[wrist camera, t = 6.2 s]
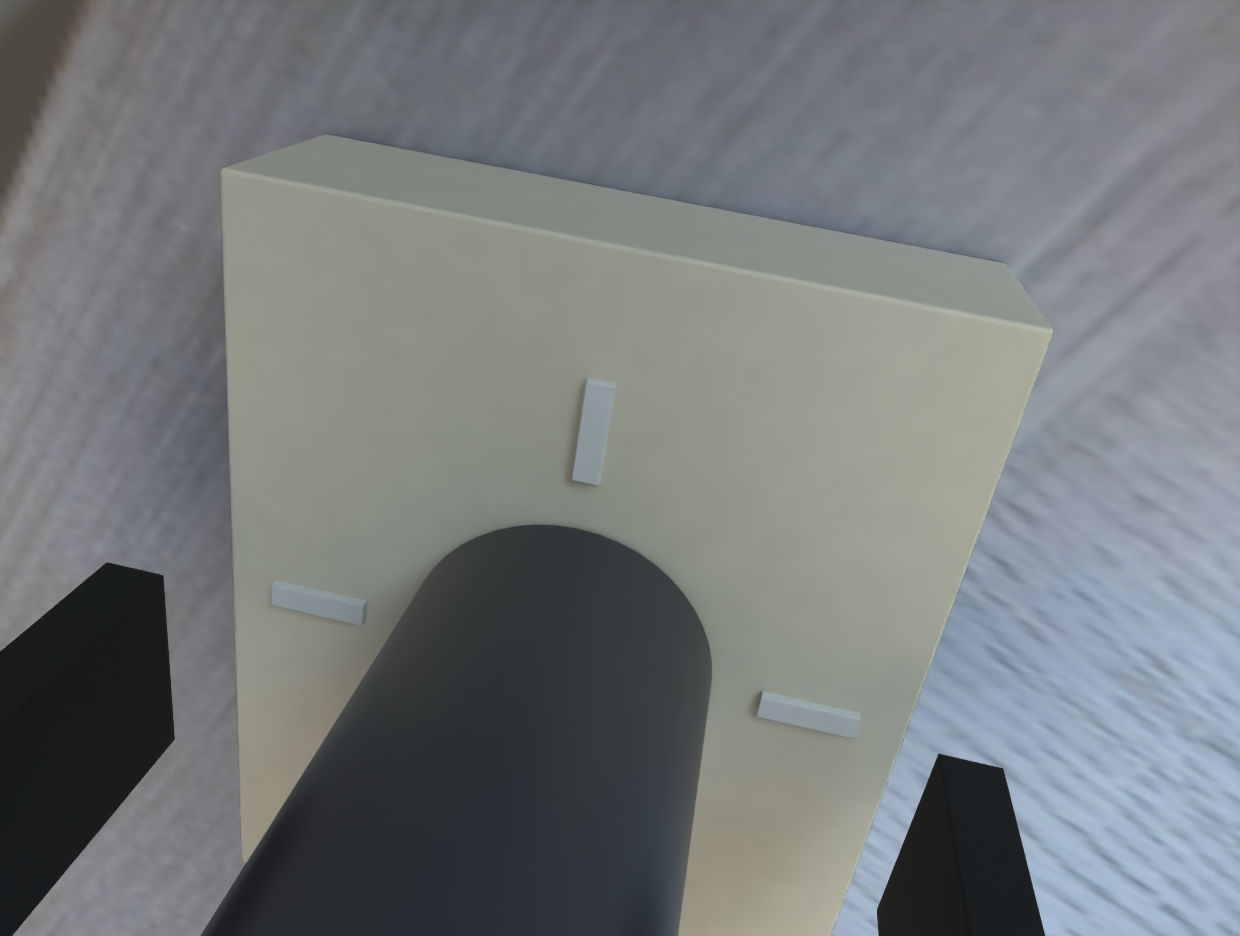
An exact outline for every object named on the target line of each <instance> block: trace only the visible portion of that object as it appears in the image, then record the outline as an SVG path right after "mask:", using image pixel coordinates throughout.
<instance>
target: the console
mask: <svg viewBox="0 0 1240 936" xmlns="http://www.w3.org/2000/svg"><path fill="white" fill-rule="evenodd" d="M220 180H221V211H222V243H223V274H224V306H225V337H226V368H227V400H228V431H229V463H230V494H231V526H232V557H233V588H234V620H235V651H236V683H237V714H238V746H239V777H240V808H241V840H242V860H243V861H244V862H247V861H248V860H249V858H250V856H251V855H252V853H253V852H254V850H255V848H256V847H257V845H258V844H259V842H260V840H261V839H262V837H263V836H264V834H265V833H266V831H267V829H268V828H269V826H270V825H271V823H272V821H273V820H274V818H275V817H276V815H277V814H278V812H279V810H280V809H281V807H282V806H283V804H284V802H285V801H286V799H287V798H288V796H289V795H290V793H291V791H292V790H293V788H294V787H295V785H296V783H297V782H298V780H299V779H300V777H301V775H302V774H303V772H304V771H305V769H306V768H307V766H308V764H309V763H310V761H311V760H312V758H313V756H314V755H315V753H316V752H317V750H318V749H319V747H320V745H321V744H322V742H323V741H324V739H325V737H326V736H327V734H328V733H329V731H330V730H331V728H332V726H333V725H334V723H335V722H336V720H337V718H338V717H339V715H340V714H341V712H342V710H343V709H344V707H345V706H346V704H347V703H348V701H349V699H350V698H351V696H352V695H353V693H354V691H355V690H356V688H357V687H358V685H359V684H360V682H361V680H362V679H363V677H364V676H365V674H366V672H367V671H368V669H369V668H370V666H371V665H372V663H373V661H374V660H375V658H376V657H377V655H378V653H379V652H380V650H381V649H382V647H383V645H384V644H385V642H386V641H387V639H388V638H389V636H390V634H391V633H392V631H393V630H394V628H395V626H396V625H397V623H398V622H399V620H400V619H401V617H402V615H403V614H404V612H405V611H406V609H407V607H408V606H409V604H410V603H411V601H412V600H413V598H414V596H415V595H416V593H417V592H418V590H419V588H420V587H421V585H422V584H423V582H424V581H425V579H426V578H427V577H428V575H429V574H430V572H431V571H432V570H433V568H434V567H435V566H436V565H437V564H438V563H439V562H440V561H441V560H442V559H443V558H444V557H445V556H447V555H448V554H449V553H451V552H452V551H454V550H455V549H456V548H458V547H459V546H460V545H462V544H464V543H466V542H468V541H470V540H472V539H474V538H476V537H478V536H481V535H484V534H487V533H490V532H493V531H496V530H500V529H504V528H509V527H514V526H523V525H535V524H539V525H559V526H566V527H572V528H578V529H582V530H586V531H589V532H593V533H596V534H600V535H602V536H605V537H607V538H610V539H612V540H615V541H617V542H619V543H621V544H623V545H625V546H627V547H629V548H631V549H632V550H634V551H636V552H638V553H639V554H641V555H642V556H644V557H645V558H646V559H648V560H649V561H651V562H652V563H654V564H655V565H656V566H657V567H658V568H659V569H661V570H662V571H663V572H664V573H665V574H666V575H667V576H669V577H670V578H671V580H672V581H673V582H674V583H675V584H676V585H677V586H678V587H679V589H680V590H681V591H682V592H683V593H684V595H685V596H686V598H687V599H688V601H689V602H690V604H691V605H692V607H693V608H694V610H695V611H696V613H697V615H698V617H699V619H700V621H701V623H702V625H703V628H704V631H705V634H706V637H707V640H708V643H709V647H710V653H711V659H712V683H711V691H710V698H709V706H708V714H707V721H706V729H705V736H704V744H703V751H702V759H701V766H700V774H699V782H698V789H697V797H696V804H695V812H694V819H693V827H692V834H691V842H690V849H689V857H688V865H687V872H686V880H685V887H684V895H683V902H682V910H681V917H680V925H679V933H678V936H831V934H832V931H833V929H834V926H835V923H836V920H837V918H838V915H839V912H840V910H841V907H842V904H843V901H844V899H845V896H846V893H847V891H848V888H849V885H850V882H851V880H852V877H853V874H854V872H855V869H856V866H857V864H858V861H859V858H860V855H861V853H862V850H863V847H864V845H865V842H866V839H867V836H868V834H869V831H870V828H871V826H872V823H873V820H874V818H875V815H876V812H877V809H878V807H879V804H880V801H881V799H882V796H883V793H884V790H885V788H886V785H887V782H888V780H889V777H890V774H891V771H892V769H893V766H894V763H895V761H896V758H897V755H898V753H899V750H900V747H901V744H902V742H903V739H904V736H905V734H906V731H907V728H908V725H909V723H910V720H911V717H912V715H913V712H914V709H915V707H916V704H917V701H918V698H919V696H920V693H921V690H922V688H923V685H924V682H925V679H926V677H927V674H928V671H929V669H930V666H931V663H932V660H933V658H934V655H935V652H936V650H937V647H938V644H939V642H940V639H941V636H942V633H943V631H944V628H945V625H946V623H947V620H948V617H949V614H950V612H951V609H952V606H953V604H954V601H955V598H956V596H957V593H958V590H959V587H960V585H961V582H962V579H963V577H964V574H965V571H966V568H967V566H968V563H969V560H970V558H971V555H972V552H973V550H974V547H975V544H976V541H977V539H978V536H979V533H980V531H981V528H982V525H983V522H984V520H985V517H986V514H987V512H988V509H989V506H990V503H991V501H992V498H993V495H994V493H995V490H996V487H997V485H998V482H999V479H1000V476H1001V474H1002V471H1003V468H1004V466H1005V463H1006V460H1007V457H1008V455H1009V452H1010V449H1011V447H1012V444H1013V441H1014V439H1015V436H1016V433H1017V430H1018V428H1019V425H1020V422H1021V420H1022V417H1023V414H1024V411H1025V409H1026V406H1027V403H1028V401H1029V398H1030V395H1031V392H1032V390H1033V387H1034V384H1035V382H1036V379H1037V376H1038V374H1039V371H1040V368H1041V365H1042V363H1043V360H1044V357H1045V355H1046V352H1047V349H1048V346H1049V344H1050V341H1051V338H1052V336H1053V329H1052V328H1051V326H1050V325H1049V324H1048V322H1047V321H1046V319H1045V318H1044V316H1043V315H1042V314H1041V312H1040V311H1039V309H1038V308H1037V306H1036V305H1035V304H1034V302H1033V301H1032V299H1031V298H1030V297H1029V295H1028V294H1027V292H1026V291H1025V289H1024V288H1023V287H1022V285H1021V284H1020V282H1019V281H1018V279H1017V278H1016V277H1015V275H1014V274H1013V272H1012V271H1011V269H1010V268H1009V267H1008V265H1006V264H1005V263H1001V262H996V261H990V260H985V259H980V258H974V257H969V256H964V255H959V254H953V253H948V252H943V251H938V250H932V249H927V248H922V247H917V246H911V245H906V244H901V243H896V242H890V241H885V240H880V239H875V238H869V237H864V236H859V235H854V234H848V233H843V232H838V231H832V230H827V229H822V228H817V227H811V226H806V225H801V224H796V223H790V222H785V221H780V220H775V219H769V218H764V217H759V216H754V215H748V214H743V213H738V212H733V211H727V210H722V209H717V208H712V207H706V206H701V205H696V204H690V203H685V202H680V201H675V200H669V199H664V198H659V197H654V196H648V195H643V194H638V193H633V192H627V191H622V190H617V189H612V188H606V187H601V186H596V185H591V184H585V183H580V182H575V181H570V180H564V179H559V178H554V177H548V176H543V175H538V174H533V173H527V172H522V171H517V170H512V169H506V168H501V167H496V166H491V165H485V164H480V163H475V162H470V161H464V160H459V159H454V158H449V157H443V156H438V155H433V154H428V153H422V152H417V151H412V150H406V149H401V148H396V147H391V146H385V145H380V144H375V143H370V142H364V141H359V140H354V139H349V138H343V137H338V136H333V135H328V134H325V135H322V136H318V137H315V138H312V139H309V140H306V141H303V142H300V143H297V144H294V145H291V146H288V147H285V148H282V149H279V150H276V151H273V152H270V153H267V154H264V155H260V156H257V157H254V158H251V159H248V160H245V161H242V162H239V163H236V164H233V165H230V166H227V167H224V168H222V169H221V172H220Z"/></svg>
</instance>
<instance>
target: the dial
mask: <svg viewBox="0 0 1240 936" xmlns="http://www.w3.org/2000/svg"><path fill="white" fill-rule="evenodd" d="M711 683H712V659H711V653H710V647H709V643H708V640H707V637H706V634H705V631H704V628H703V625H702V623H701V621H700V619H699V617H698V615H697V613H696V611H695V610H694V608H693V607H692V605H691V604H690V602H689V601H688V599H687V598H686V596H685V595H684V593H683V592H682V591H681V590H680V589H679V587H678V586H677V585H676V584H675V583H674V582H673V581H672V580H671V578H670V577H669V576H667V575H666V574H665V573H664V572H663V571H662V570H661V569H659V568H658V567H657V566H656V565H655V564H654V563H652V562H651V561H649V560H648V559H646V558H645V557H644V556H642V555H641V554H639V553H638V552H636V551H634V550H632V549H631V548H629V547H627V546H625V545H623V544H621V543H619V542H617V541H615V540H612V539H610V538H607V537H605V536H602V535H600V534H596V533H593V532H589V531H586V530H582V529H578V528H572V527H566V526H559V525H539V524H535V525H523V526H514V527H509V528H504V529H500V530H496V531H493V532H490V533H487V534H484V535H481V536H478V537H476V538H474V539H472V540H470V541H468V542H466V543H464V544H462V545H460V546H459V547H458V548H456V549H455V550H454V551H452V552H451V553H449V554H448V555H447V556H445V557H444V558H443V559H442V560H441V561H440V562H439V563H438V564H437V565H436V566H435V567H434V568H433V570H432V571H431V572H430V574H429V575H428V577H427V578H426V579H425V581H424V582H423V584H422V585H421V587H420V588H419V590H418V592H417V593H416V595H415V596H414V598H413V600H412V601H411V603H410V604H409V606H408V607H407V609H406V611H405V612H404V614H403V615H402V617H401V619H400V620H399V622H398V623H397V625H396V626H395V628H394V630H393V631H392V633H391V634H390V636H389V638H388V639H387V641H386V642H385V644H384V645H383V647H382V649H381V650H380V652H379V653H378V655H377V657H376V658H375V660H374V661H373V663H372V665H371V666H370V668H369V669H368V671H367V672H366V674H365V676H364V677H363V679H362V680H361V682H360V684H359V685H358V687H357V688H356V690H355V691H354V693H353V695H352V696H351V698H350V699H349V701H348V703H347V704H346V706H345V707H344V709H343V710H342V712H341V714H340V715H339V717H338V718H337V720H336V722H335V723H334V725H333V726H332V728H331V730H330V731H329V733H328V734H327V736H326V737H325V739H324V741H323V742H322V744H321V745H320V747H319V749H318V750H317V752H316V753H315V755H314V756H313V758H312V760H311V761H310V763H309V764H308V766H307V768H306V769H305V771H304V772H303V774H302V775H301V777H300V779H299V780H298V782H297V783H296V785H295V787H294V788H293V790H292V791H291V793H290V795H289V796H288V798H287V799H286V801H285V802H284V804H283V806H282V807H281V809H280V810H279V812H278V814H277V815H276V817H275V818H274V820H273V821H272V823H271V825H270V826H269V828H268V829H267V831H266V833H265V834H264V836H263V837H262V839H261V840H260V842H259V844H258V845H257V847H256V848H255V850H254V852H253V853H252V855H251V856H250V858H249V860H248V861H247V863H246V864H245V866H244V867H243V869H242V871H241V872H240V874H239V875H238V877H237V879H236V880H235V882H234V883H233V885H232V886H231V888H230V890H229V891H228V893H227V894H226V896H225V898H224V899H223V901H222V902H221V904H220V906H219V907H218V909H217V910H216V912H215V913H214V915H213V917H212V918H211V920H210V921H209V923H208V925H207V926H206V928H205V929H204V931H203V932H202V934H201V936H678V933H679V925H680V917H681V910H682V902H683V895H684V887H685V880H686V872H687V865H688V857H689V849H690V842H691V834H692V827H693V819H694V812H695V804H696V797H697V789H698V782H699V774H700V766H701V759H702V751H703V744H704V736H705V729H706V721H707V714H708V706H709V698H710V691H711Z"/></svg>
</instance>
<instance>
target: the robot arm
mask: <svg viewBox="0 0 1240 936" xmlns="http://www.w3.org/2000/svg"><path fill="white" fill-rule="evenodd" d="M174 740H175V736H174V722H173V707H172V693H171V679H170V664H169V650H168V635H167V621H166V606H165V592H164V577H163V575H160V574H155V573H151V572H147V571H142V570H138V569H134V568H129V567H125V566H121V565H116V564H112V563H106V564H104V565H103V566H102V567H101V568H100V569H98V570H97V571H96V572H95V573H94V574H92V575H91V576H90V577H89V578H88V579H86V580H85V581H84V582H83V583H82V584H80V585H79V586H78V587H77V588H76V589H74V590H73V591H72V592H71V593H70V594H69V595H67V596H66V597H65V598H64V599H63V600H61V601H60V602H59V603H58V604H57V605H55V606H54V607H53V608H52V609H51V610H49V611H48V612H47V613H46V614H45V615H43V616H42V617H41V618H40V619H39V620H38V621H36V622H35V623H34V624H33V625H32V626H30V627H29V628H28V629H27V630H26V631H24V632H23V633H22V634H21V635H20V636H18V637H17V638H16V639H15V640H14V641H12V642H11V643H10V644H9V645H8V646H6V647H5V648H4V649H3V650H2V651H1V652H0V936H12V935H13V934H14V933H15V932H16V931H17V929H18V928H19V927H20V926H21V924H22V923H23V922H24V921H25V920H26V918H27V917H28V916H29V915H30V914H31V912H32V911H33V910H34V909H35V908H36V906H37V905H38V904H39V903H40V902H41V900H42V899H43V898H44V897H45V895H46V894H47V893H48V892H49V891H50V889H51V888H52V887H53V886H54V885H55V883H56V882H57V881H58V880H59V879H60V877H61V876H62V875H63V874H64V873H65V871H66V870H67V869H68V868H69V866H70V865H71V864H72V863H73V862H74V860H75V859H76V858H77V857H78V856H79V854H80V853H81V852H82V851H83V850H84V848H85V847H86V846H87V845H88V843H89V842H90V841H91V840H92V839H93V837H94V836H95V835H96V834H97V833H98V831H99V830H100V829H101V828H102V827H103V825H104V824H105V823H106V822H107V821H108V819H109V818H110V817H111V816H112V814H113V813H114V812H115V811H116V810H117V808H118V807H119V806H120V805H121V804H122V802H123V801H124V800H125V799H126V798H127V796H128V795H129V794H130V793H131V791H132V790H133V789H134V788H135V787H136V785H137V784H138V783H139V782H140V781H141V779H142V778H143V777H144V776H145V775H146V773H147V772H148V771H149V770H150V769H151V767H152V766H153V765H154V764H155V762H156V761H157V760H158V759H159V758H160V756H161V755H162V754H163V753H164V752H165V750H166V749H167V748H168V747H169V746H170V744H171V743H172V742H173V741H174ZM877 919H878V932H879V936H1045V933H1044V929H1043V925H1042V921H1041V917H1040V913H1039V909H1038V905H1037V901H1036V897H1035V893H1034V889H1033V885H1032V881H1031V877H1030V873H1029V869H1028V865H1027V861H1026V857H1025V853H1024V849H1023V845H1022V841H1021V837H1020V833H1019V829H1018V825H1017V821H1016V817H1015V813H1014V809H1013V805H1012V802H1011V798H1010V794H1009V790H1008V786H1007V782H1006V778H1005V774H1004V770H1003V768H998V767H994V766H990V765H985V764H981V763H977V762H972V761H968V760H964V759H959V758H955V757H951V756H946V755H942V754H938V757H937V759H936V762H935V764H934V767H933V769H932V772H931V774H930V777H929V779H928V782H927V785H926V787H925V790H924V792H923V795H922V797H921V800H920V802H919V805H918V807H917V810H916V812H915V815H914V817H913V820H912V822H911V825H910V828H909V830H908V833H907V835H906V838H905V840H904V843H903V845H902V848H901V850H900V853H899V855H898V858H897V860H896V863H895V865H894V868H893V871H892V873H891V876H890V878H889V881H888V883H887V886H886V888H885V891H884V893H883V896H882V898H881V901H880V903H879V906H878V908H877Z"/></svg>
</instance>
